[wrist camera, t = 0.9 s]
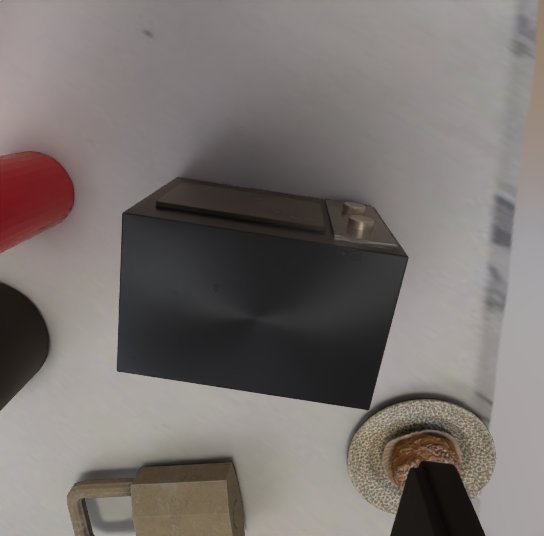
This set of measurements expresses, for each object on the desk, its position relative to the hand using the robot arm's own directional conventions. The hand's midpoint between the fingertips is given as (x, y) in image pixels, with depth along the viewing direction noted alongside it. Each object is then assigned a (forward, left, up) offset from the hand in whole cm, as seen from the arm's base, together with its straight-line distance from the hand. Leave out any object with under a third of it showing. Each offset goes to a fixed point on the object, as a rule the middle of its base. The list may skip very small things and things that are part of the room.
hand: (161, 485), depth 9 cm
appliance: (+4, +1, -26) cm, 26 cm away
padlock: (+26, +2, -23) cm, 35 cm away
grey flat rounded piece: (+19, +16, -26) cm, 36 cm away
